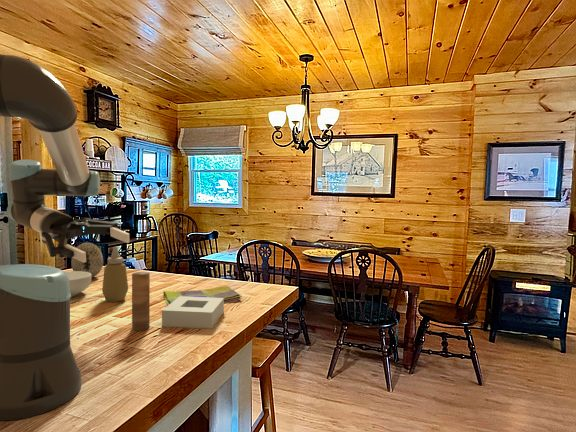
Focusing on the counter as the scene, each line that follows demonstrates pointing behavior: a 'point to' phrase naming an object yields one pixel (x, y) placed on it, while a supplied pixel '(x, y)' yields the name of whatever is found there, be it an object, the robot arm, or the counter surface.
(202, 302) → the socket block
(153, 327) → the counter surface
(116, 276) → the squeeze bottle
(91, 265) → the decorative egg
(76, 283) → the cereal bowl
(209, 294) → the dish towel
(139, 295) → the walnut dowel
